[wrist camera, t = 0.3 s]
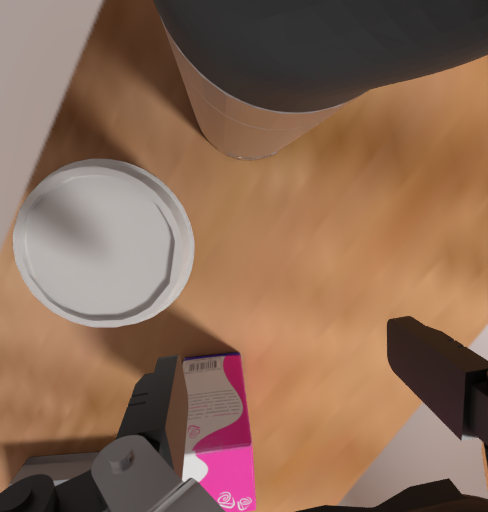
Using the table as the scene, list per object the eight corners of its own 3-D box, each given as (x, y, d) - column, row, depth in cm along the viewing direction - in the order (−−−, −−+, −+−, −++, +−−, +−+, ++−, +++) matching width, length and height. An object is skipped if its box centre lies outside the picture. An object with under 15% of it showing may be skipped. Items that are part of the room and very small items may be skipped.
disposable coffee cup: (161, 296, 29) (122, 367, 17) (74, 232, 27) (-35, 264, 16) (225, 218, 28) (229, 239, 16) (139, 146, 26) (73, 112, 15)
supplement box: (189, 408, 32) (172, 525, 21) (183, 356, 31) (161, 452, 19) (245, 402, 32) (257, 514, 21) (241, 350, 31) (252, 441, 20)
